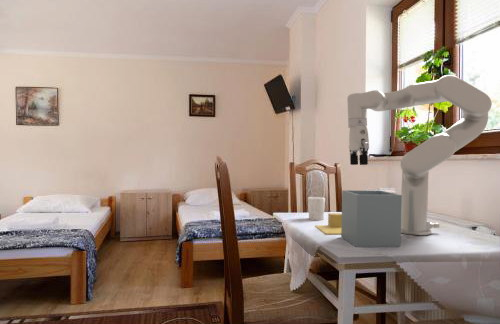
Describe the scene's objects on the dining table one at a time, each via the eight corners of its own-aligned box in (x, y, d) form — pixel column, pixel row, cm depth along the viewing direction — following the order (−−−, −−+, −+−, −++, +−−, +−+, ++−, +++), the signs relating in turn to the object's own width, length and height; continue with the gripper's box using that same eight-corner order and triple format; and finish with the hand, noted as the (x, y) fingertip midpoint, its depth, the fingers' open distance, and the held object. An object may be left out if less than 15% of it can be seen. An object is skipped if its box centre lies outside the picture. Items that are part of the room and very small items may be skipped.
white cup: (304, 218, 178) (305, 196, 178) (319, 217, 180) (320, 196, 180) (312, 221, 170) (312, 198, 170) (327, 220, 173) (328, 198, 172)
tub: (381, 236, 139) (381, 190, 139) (400, 246, 124) (401, 195, 124) (341, 236, 138) (342, 190, 137) (356, 247, 123) (357, 194, 123)
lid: (352, 227, 159) (352, 213, 159) (367, 235, 143) (367, 220, 143) (315, 227, 157) (315, 213, 157) (326, 236, 141) (326, 220, 141)
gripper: (375, 121, 149) (376, 164, 149) (357, 125, 166) (359, 164, 166) (357, 121, 148) (358, 165, 148) (341, 125, 165) (342, 165, 165)
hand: (358, 164), depth 157 cm, fingers open, 9 cm apart
